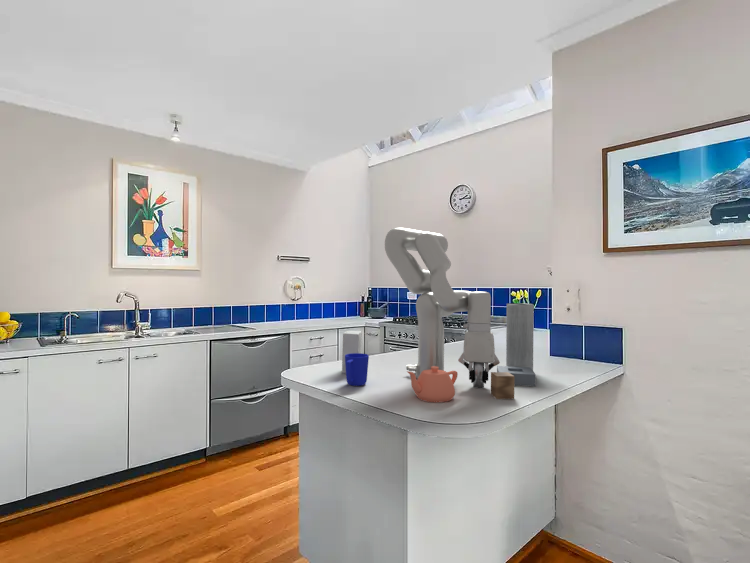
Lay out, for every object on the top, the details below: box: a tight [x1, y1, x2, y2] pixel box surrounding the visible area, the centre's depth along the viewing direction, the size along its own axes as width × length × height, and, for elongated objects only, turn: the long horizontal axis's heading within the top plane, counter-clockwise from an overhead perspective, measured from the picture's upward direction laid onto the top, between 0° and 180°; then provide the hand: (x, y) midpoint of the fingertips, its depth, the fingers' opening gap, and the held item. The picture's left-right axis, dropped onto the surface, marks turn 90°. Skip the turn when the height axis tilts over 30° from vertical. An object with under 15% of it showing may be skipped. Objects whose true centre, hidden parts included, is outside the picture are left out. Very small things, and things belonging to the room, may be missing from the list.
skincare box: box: [341, 330, 363, 374], centre depth 162 cm, size 8×7×16 cm
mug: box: [345, 352, 370, 387], centre depth 140 cm, size 8×12×10 cm
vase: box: [505, 302, 535, 371], centre depth 162 cm, size 10×10×27 cm
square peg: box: [490, 371, 515, 400], centre depth 128 cm, size 6×6×7 cm
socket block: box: [496, 365, 537, 387], centre depth 148 cm, size 12×12×4 cm
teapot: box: [406, 366, 459, 403], centre depth 126 cm, size 12×18×10 cm
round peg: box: [472, 362, 485, 389], centre depth 140 cm, size 4×4×10 cm
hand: (478, 381), depth 140 cm, fingers closed on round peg, 3 cm apart
